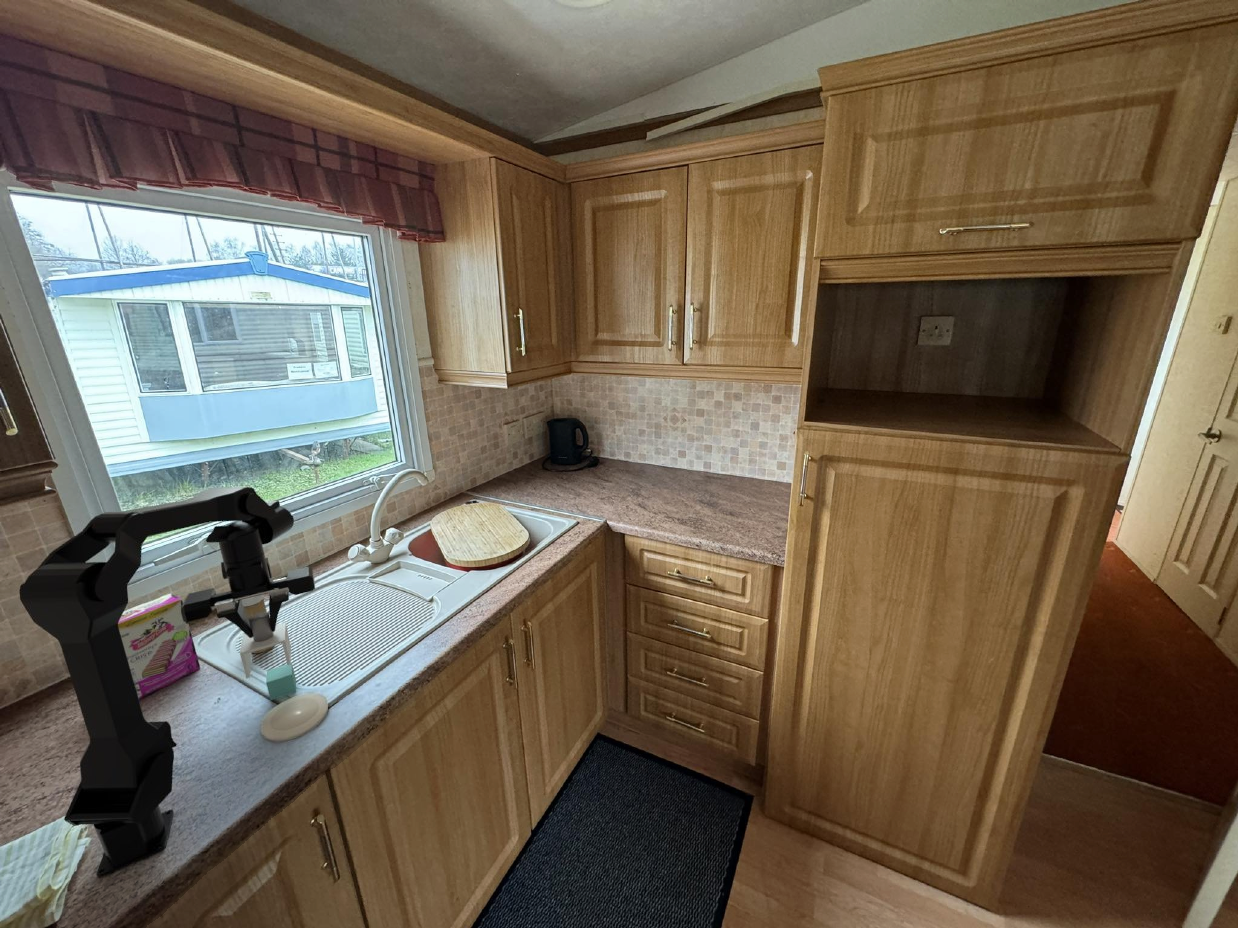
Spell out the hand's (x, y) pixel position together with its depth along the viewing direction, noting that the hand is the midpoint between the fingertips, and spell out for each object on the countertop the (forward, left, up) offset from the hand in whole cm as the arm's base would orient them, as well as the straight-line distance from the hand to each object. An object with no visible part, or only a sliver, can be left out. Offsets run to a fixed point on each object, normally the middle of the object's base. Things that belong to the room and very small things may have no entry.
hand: (262, 633), depth 89 cm
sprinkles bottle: (+18, +3, -13) cm, 22 cm away
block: (0, -1, -13) cm, 13 cm away
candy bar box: (+16, +19, -13) cm, 28 cm away
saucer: (-10, -3, -13) cm, 17 cm away
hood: (0, 0, -6) cm, 6 cm away
